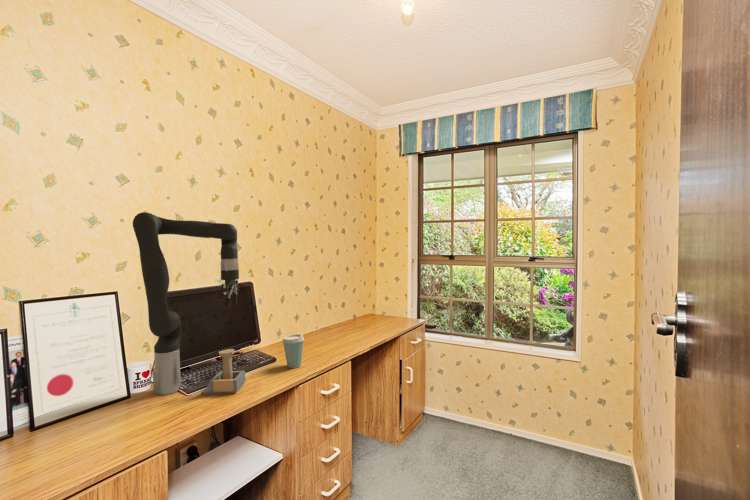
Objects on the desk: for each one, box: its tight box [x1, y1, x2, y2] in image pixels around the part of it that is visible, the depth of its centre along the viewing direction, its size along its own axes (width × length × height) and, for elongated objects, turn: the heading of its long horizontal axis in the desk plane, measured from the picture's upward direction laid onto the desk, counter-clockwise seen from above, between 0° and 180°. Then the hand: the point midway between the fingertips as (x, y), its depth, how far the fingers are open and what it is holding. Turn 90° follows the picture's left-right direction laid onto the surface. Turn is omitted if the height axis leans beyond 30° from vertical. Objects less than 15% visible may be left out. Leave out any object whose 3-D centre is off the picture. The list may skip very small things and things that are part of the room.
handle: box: [218, 348, 236, 379], centre depth 156 cm, size 5×6×15 cm
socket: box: [201, 370, 246, 395], centre depth 156 cm, size 14×11×6 cm
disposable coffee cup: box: [282, 333, 305, 369], centre depth 183 cm, size 11×11×15 cm
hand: (230, 305), depth 164 cm, fingers open, 8 cm apart
